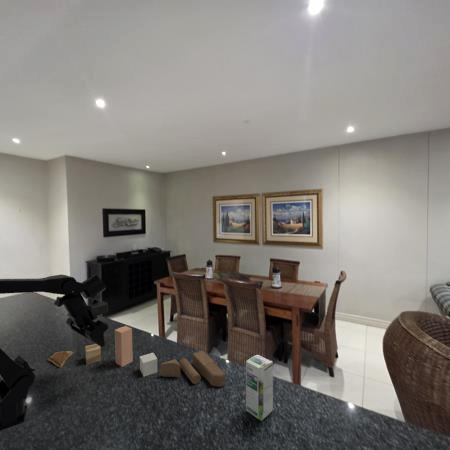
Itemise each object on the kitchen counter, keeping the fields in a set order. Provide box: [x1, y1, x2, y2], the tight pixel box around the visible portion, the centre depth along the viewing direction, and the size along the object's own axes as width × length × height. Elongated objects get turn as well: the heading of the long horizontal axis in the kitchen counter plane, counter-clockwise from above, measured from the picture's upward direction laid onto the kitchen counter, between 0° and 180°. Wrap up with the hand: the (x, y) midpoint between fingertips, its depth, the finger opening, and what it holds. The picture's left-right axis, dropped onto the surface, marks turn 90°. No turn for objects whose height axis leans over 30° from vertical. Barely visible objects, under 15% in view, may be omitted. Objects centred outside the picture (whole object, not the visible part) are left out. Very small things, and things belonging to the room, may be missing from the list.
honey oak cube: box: [84, 343, 102, 365], centre depth 99 cm, size 5×5×5 cm
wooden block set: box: [160, 350, 226, 388], centre depth 86 cm, size 17×6×18 cm
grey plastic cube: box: [139, 352, 159, 377], centre depth 91 cm, size 5×5×5 cm
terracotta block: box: [114, 325, 133, 368], centre depth 97 cm, size 4×4×13 cm
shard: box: [47, 350, 73, 369], centre depth 98 cm, size 11×8×2 cm
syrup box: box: [245, 354, 274, 422], centre depth 71 cm, size 6×6×14 cm
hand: (96, 342), depth 89 cm, fingers open, 9 cm apart
